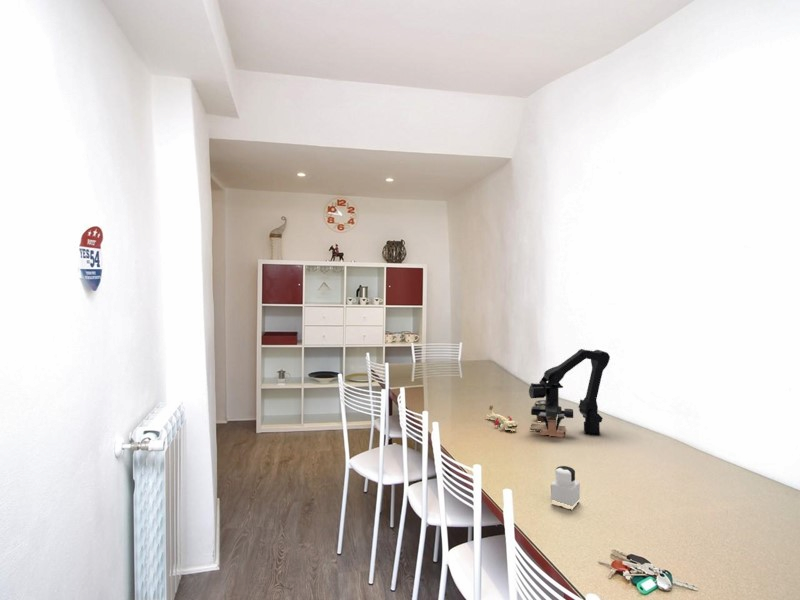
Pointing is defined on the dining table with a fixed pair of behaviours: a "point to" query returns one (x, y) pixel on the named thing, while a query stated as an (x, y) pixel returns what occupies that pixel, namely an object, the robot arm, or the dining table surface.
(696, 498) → the dining table surface
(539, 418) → the food container
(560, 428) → the ticket board
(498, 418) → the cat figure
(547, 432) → the stub
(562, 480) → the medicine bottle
